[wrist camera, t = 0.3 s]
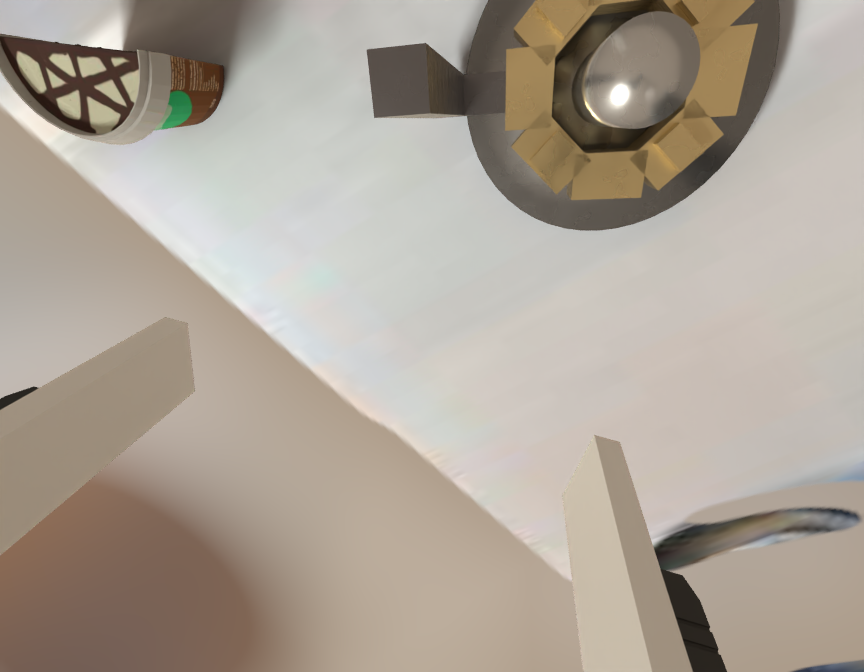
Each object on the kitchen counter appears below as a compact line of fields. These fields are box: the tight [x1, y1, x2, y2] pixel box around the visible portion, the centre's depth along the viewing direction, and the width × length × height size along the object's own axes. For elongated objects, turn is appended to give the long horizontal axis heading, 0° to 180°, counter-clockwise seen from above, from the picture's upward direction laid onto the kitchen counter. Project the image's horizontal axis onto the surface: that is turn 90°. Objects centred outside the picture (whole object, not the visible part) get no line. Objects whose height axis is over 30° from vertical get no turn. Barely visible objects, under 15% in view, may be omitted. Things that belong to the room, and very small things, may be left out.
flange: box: [467, 0, 780, 230], centre depth 26 cm, size 20×20×11 cm
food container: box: [0, 34, 224, 145], centre depth 32 cm, size 12×6×10 cm, turn 84°
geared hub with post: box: [367, 0, 758, 200], centre depth 22 cm, size 19×14×16 cm
